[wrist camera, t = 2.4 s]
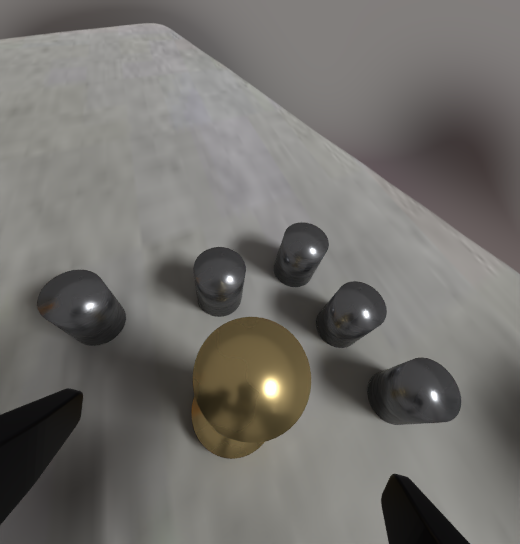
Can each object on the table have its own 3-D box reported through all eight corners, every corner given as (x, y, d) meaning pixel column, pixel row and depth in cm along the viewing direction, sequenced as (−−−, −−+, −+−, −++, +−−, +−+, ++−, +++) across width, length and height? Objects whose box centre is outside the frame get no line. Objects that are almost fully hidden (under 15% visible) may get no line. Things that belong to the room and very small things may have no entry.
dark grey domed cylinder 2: (424, 413, 17) (473, 408, 14) (385, 433, 16) (428, 432, 13) (395, 365, 19) (434, 350, 15) (358, 381, 18) (391, 368, 14)
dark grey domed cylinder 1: (365, 339, 19) (396, 319, 16) (328, 353, 19) (353, 336, 15) (344, 302, 21) (368, 276, 18) (309, 313, 20) (327, 288, 17)
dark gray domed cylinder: (247, 309, 20) (252, 283, 16) (204, 322, 19) (200, 297, 15) (233, 273, 21) (236, 242, 18) (193, 283, 20) (188, 253, 17)
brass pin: (285, 436, 16) (381, 437, 6) (204, 473, 14) (176, 544, 5) (257, 357, 18) (298, 272, 8) (184, 382, 16) (139, 314, 7)
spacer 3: (318, 281, 22) (336, 252, 18) (283, 291, 21) (295, 263, 17) (302, 250, 23) (316, 219, 20) (268, 258, 22) (277, 227, 19)
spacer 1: (128, 336, 17) (107, 313, 14) (73, 352, 16) (36, 331, 13) (123, 294, 19) (102, 264, 15) (72, 307, 18) (38, 277, 15)
